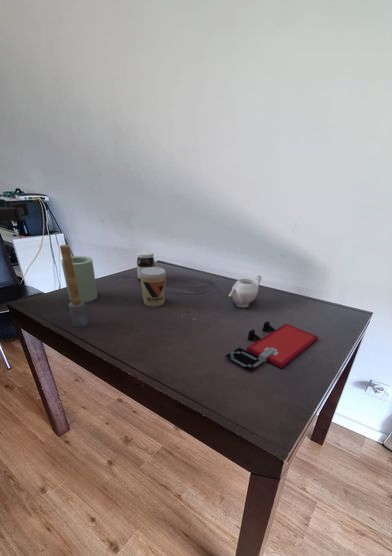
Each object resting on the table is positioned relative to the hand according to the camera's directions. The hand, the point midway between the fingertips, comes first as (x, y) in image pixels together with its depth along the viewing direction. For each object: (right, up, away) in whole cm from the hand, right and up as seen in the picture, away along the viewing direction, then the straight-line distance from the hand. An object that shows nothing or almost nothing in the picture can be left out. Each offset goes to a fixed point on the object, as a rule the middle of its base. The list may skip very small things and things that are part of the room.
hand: (0, 207), depth 72 cm
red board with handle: (+72, -36, +11) cm, 81 cm away
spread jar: (+29, -5, +55) cm, 63 cm away
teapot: (+67, -19, +37) cm, 79 cm away
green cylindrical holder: (+7, -16, +36) cm, 40 cm away
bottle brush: (+13, -28, +18) cm, 36 cm away
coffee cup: (+34, -18, +35) cm, 52 cm away
